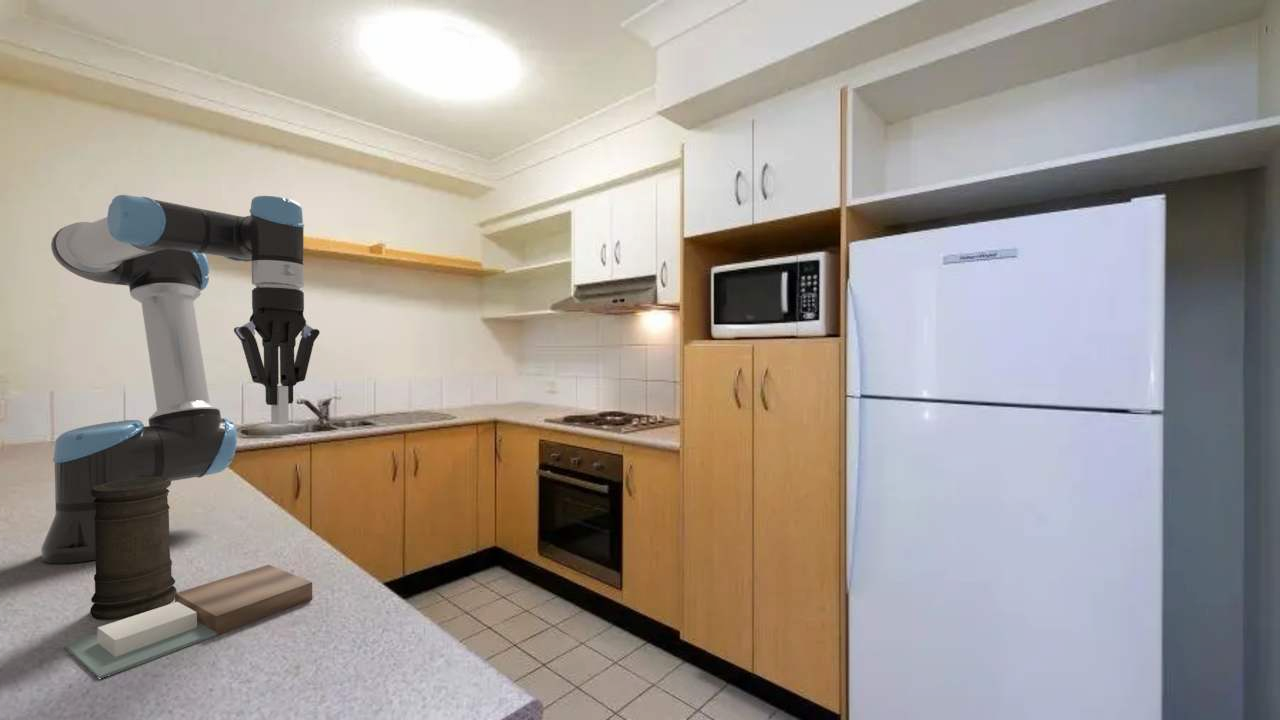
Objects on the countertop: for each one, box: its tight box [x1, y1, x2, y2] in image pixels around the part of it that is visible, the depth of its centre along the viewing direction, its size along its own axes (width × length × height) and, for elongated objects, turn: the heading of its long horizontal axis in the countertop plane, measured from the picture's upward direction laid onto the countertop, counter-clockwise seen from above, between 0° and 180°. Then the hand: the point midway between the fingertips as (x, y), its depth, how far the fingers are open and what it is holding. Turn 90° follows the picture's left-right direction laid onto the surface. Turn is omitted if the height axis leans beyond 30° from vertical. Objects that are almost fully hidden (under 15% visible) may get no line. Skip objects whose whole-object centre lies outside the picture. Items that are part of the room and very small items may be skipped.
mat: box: [63, 621, 217, 679], centre depth 68 cm, size 13×11×1 cm
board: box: [174, 564, 313, 636], centre depth 78 cm, size 13×12×2 cm
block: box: [97, 601, 197, 657], centre depth 69 cm, size 6×8×2 cm
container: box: [89, 477, 178, 621], centre depth 78 cm, size 9×9×18 cm
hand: (279, 423), depth 94 cm, fingers closed
